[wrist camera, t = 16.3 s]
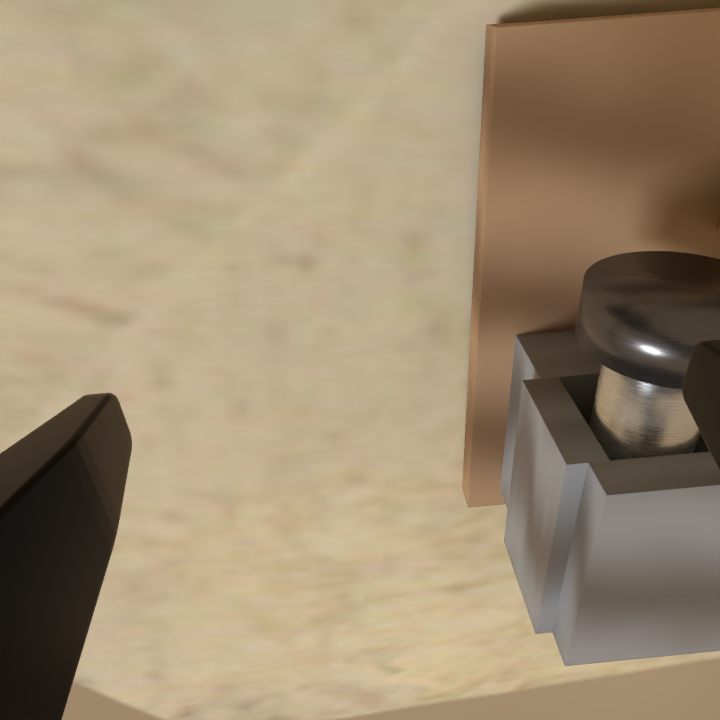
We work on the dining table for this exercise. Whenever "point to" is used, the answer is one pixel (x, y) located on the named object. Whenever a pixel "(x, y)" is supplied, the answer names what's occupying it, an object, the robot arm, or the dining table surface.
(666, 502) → the shaft stand
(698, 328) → the shaft
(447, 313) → the dining table surface
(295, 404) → the dining table surface
